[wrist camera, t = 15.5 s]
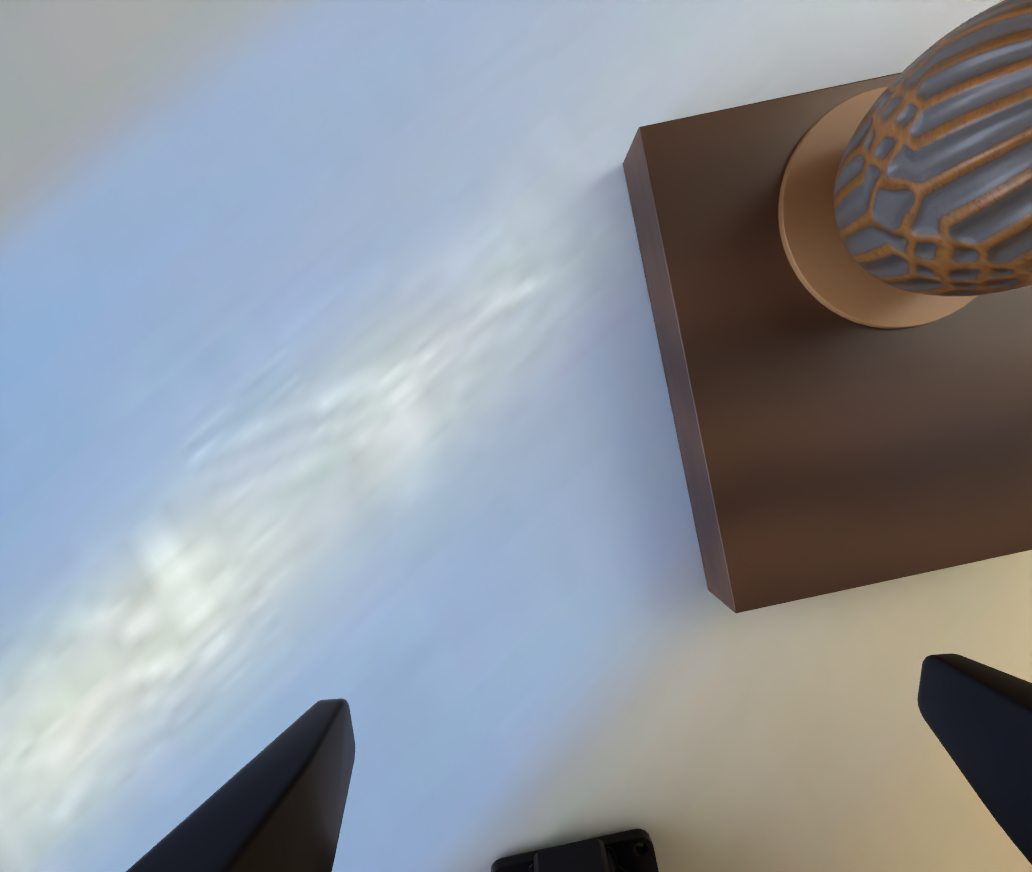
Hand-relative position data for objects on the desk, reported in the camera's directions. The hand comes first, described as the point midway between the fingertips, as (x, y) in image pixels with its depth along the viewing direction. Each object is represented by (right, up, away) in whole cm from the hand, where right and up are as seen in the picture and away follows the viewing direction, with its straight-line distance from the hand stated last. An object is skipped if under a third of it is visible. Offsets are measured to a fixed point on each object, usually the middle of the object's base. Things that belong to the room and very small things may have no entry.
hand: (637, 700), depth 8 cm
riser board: (+10, +8, +12) cm, 18 cm away
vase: (+11, +12, +9) cm, 19 cm away
